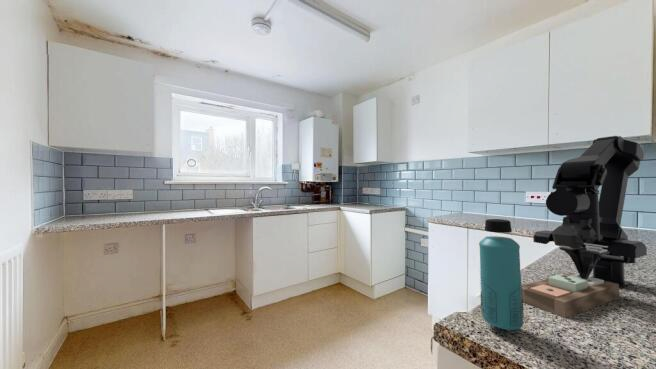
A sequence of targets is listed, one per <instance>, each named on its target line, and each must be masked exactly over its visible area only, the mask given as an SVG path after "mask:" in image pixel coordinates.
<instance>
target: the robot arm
mask: <svg viewBox="0 0 656 369" xmlns="http://www.w3.org/2000/svg"><path fill="white" fill-rule="evenodd" d="M644 154H645V152H644V149H643V148H642V147H641V145H640V144H639V143H638V142H636V141H631V140H628V139H624V138H623V137H622V135H621V136H619V135H613V136H612V135H611V136H604V137H598V138H596V139H593V141H592V144H591V145H590V146H589V147H588V148H587V149H586V150H585V151H584V152H583V153H582V154H581V155H580V156H578V157H575V158H571V159H568V160H565V161H564V162H562V163H561V165H560V167H558V169H557V172H556V175H555V178H554V181H553V184H552V187H551V188H552V189H553V190H555V191H552V192H551V193H549V194H548V195H547V197H546V200H545V206H546V207H547V208H546V209H548V210H549V212H551V213H553V214H554V215H556V216H561V217H563V218H562V223H561V225H559V226H558V227H556V228H555V229H553V230H548V229H547V230H546V229H545V230H539V231H538V230H537V231H535V232H534V234H533V235H532V236H533V237H532V238H533V239H532V240H533V241H532V242H533V243H537V244H543V245H547V244H549V243H551V242H554V245H555V246H556V247H557V246H558V247H559V250H561V251H564V252H565V253H566V254H567V255H569V258H570V259H571V260H572V262H573V264H574V266H575V268H576V271H577V272H578V273H577V274H579V275H580V277H581V278H583V279H587V278H588V277H590V276H591V273H592V276H591V277H592V278H597V279H601V280H604V281H608V282H612V283H616V284H619V289H621V288H625V287H628V286H630V285H632V282H631V281H627V280H625V264H626V265H628V264H636V259H639V258H641V257H645V256H647V255H648V254H647V246H646V244H645V243H644V242H643V241H638V240H630V239H629V236H628V235H627V233H626V232H625V230H624V229H623V228H622V226H621V223H622V218H623V211H624V205H625V198H626V192H627V186H628V182H629V177H630V176H632V175H633V174H634V173H636V172H637V171H638V170H639V168H640V165H641V162H643V161H644V158H645V157H644V156H645V155H644ZM599 188H601V189H600V190H599Z"/></svg>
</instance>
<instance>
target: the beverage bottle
mask: <svg viewBox="0 0 656 369" xmlns="http://www.w3.org/2000/svg"><path fill="white" fill-rule="evenodd" d="M484 223H485V225H484V231H486V232H491V233H499V234H500V233H503V234H504V233H511V232H512V229H513V228H512V224H511V221H510V220H508V219H500V218H490V219H485V222H484ZM478 246H479V261H480V262H479V263H480V264H479V266H480V268H479V270H478V271H479V276H480V282H479V283H480V284H479V285H480V289H479V290H480V310H481V316H482V319H483V320H484V321H485V323H486V324H487V323H488V324H489V325H491V326H493V327H495V328H498V329H503V330H506V331H507V330H508V331H515V330H520V329H522V328H523V325H524V317H525V316H524V303H523V298H522V296H523V295H522V293H523V292H522V291H523V290H522V287H521V286H522V284H523V281H522V273H521V259H520V258H521V254H520V248H521V247H520V244H519V243H518V242H517V241H515V240H514V239H513V238H511V237H507V236H497V235H495V236H494V235H490V236H485V237H484V238H483V239H481V240H480V241H479V242H478Z"/></svg>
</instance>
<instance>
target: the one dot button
mask: <svg viewBox="0 0 656 369" xmlns="http://www.w3.org/2000/svg"><path fill="white" fill-rule="evenodd" d="M530 289H531V290H534V291H537V292H540V293H543V294H547V295H550V296H553V297H556V298H559V297H562V296H566V295H569V294H570V292H568V291H565V290H561V289H558V288H554V287H551V286H547V285H544V284H543V285H539V286H536V287H532V288H530Z"/></svg>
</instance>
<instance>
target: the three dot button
mask: <svg viewBox="0 0 656 369" xmlns="http://www.w3.org/2000/svg"><path fill="white" fill-rule="evenodd" d="M547 279H548V280H549V284H550V285H553V286H557V287H560V288H564V289H568V290H571V291H575V292H578V291H581V290H585V289H588V281H587V280H583V279H579V278H575V277H571V276H566V275H564V274H562V273H560V274H556V275H552V276H549V277H548V278H547Z"/></svg>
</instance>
